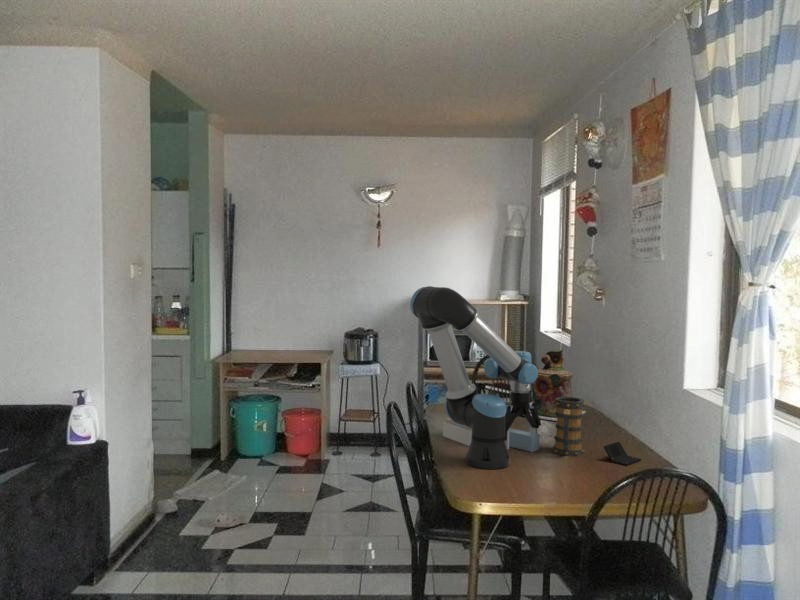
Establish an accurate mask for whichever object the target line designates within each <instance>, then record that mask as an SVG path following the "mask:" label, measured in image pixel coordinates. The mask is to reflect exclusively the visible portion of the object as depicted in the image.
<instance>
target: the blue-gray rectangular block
mask: <svg viewBox="0 0 800 600" xmlns="http://www.w3.org/2000/svg"><path fill="white" fill-rule="evenodd" d="M508 432H509V448H514V449H518V450H523V451H526V452H531V453H532V452H536V451H539V450H540V434H538V433H537V434H535V433H530V432H529V431H526V430H525V431H524V430H520V429H517V428H511V427H510V428H509V430H508Z"/></svg>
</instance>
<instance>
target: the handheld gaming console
mask: <svg viewBox="0 0 800 600" xmlns="http://www.w3.org/2000/svg"><path fill="white" fill-rule="evenodd" d="M603 449H604V451H605V452H606V455H608V456H607V457H609V459H610V463H612V464H615V465H619V466H623V467H629V466H631V465H634V464H637V463H639V462H641V461H642V458H640V457H635V456H630V455H628V454H627V452H626V451H625V449H624V447H623V445H622V444H621V442H620V441H616V442H612V443H610V444H606V445H604V446H603Z"/></svg>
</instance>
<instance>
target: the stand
mask: <svg viewBox="0 0 800 600" xmlns="http://www.w3.org/2000/svg"><path fill="white" fill-rule="evenodd" d="M442 437H444V438H447V439H449V440H452V441H455V442H458V443H461V445H465V446H468V447H469V446H470V443H471V440H472V428H470V427H467V426H465V425H461V424H458V423H456V422H455V421H453V420H451V419H450V418H449V417H446V418H444V421H443V422H442Z"/></svg>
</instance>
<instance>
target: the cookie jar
mask: <svg viewBox="0 0 800 600" xmlns="http://www.w3.org/2000/svg"><path fill="white" fill-rule="evenodd" d="M563 351H564V349H563V348H562V349H560V350H549V351H547V352H546V353H545V354H544V355H543V356H542V357H541V360H540V361H541V363H542V364H544V366H543V367H541V368H539V369H537V371H538V376H537V379H536V380H535V382H534V383H533V385H534V387H533V389H534V391H533V397H532V399H533V403H535V404H536V411H537V413H538V416H539V419H540V420H547V421H554V422H557V416H556V414H555V412H556V406H555V403H554V402H552V401H554V400H555V398H557V397H574V396H573V388H572V378H573V377H574V376H573V375H574V374H573V372H570V371H567V370H566V369H564V367H563V363H564V358H563ZM528 410H529V412H530V409H528ZM530 413H531V412H530ZM585 413H587V411H586V410H582V414H584V415H585ZM530 415H531V414H530ZM531 416H532V415H531ZM521 417H524V416H523V415H522V416H521Z"/></svg>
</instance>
